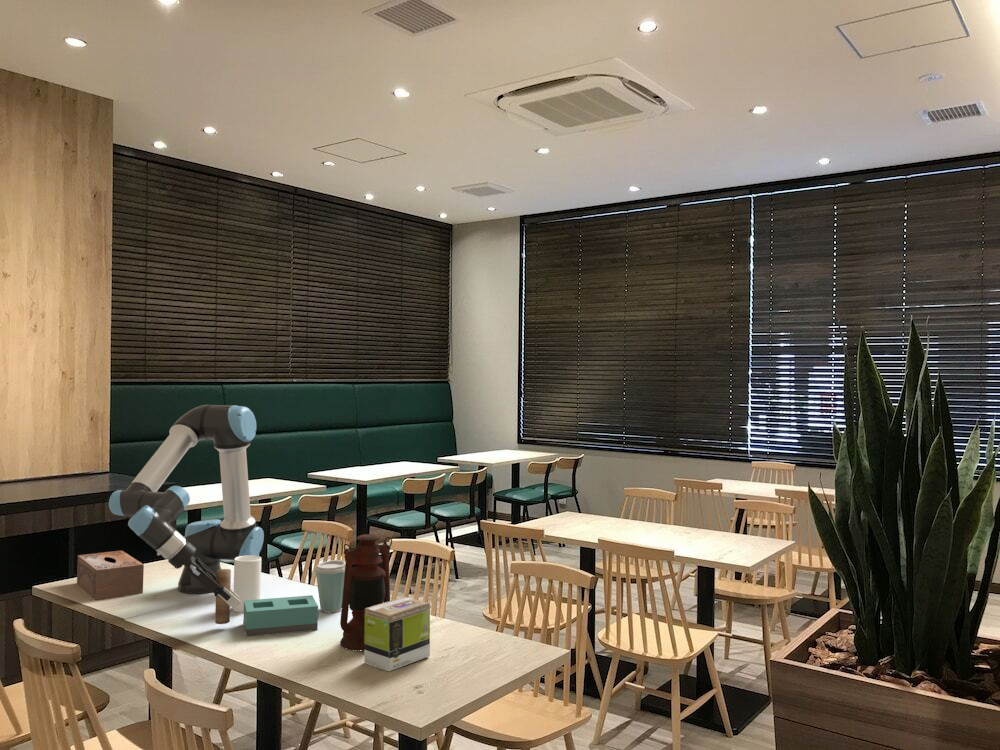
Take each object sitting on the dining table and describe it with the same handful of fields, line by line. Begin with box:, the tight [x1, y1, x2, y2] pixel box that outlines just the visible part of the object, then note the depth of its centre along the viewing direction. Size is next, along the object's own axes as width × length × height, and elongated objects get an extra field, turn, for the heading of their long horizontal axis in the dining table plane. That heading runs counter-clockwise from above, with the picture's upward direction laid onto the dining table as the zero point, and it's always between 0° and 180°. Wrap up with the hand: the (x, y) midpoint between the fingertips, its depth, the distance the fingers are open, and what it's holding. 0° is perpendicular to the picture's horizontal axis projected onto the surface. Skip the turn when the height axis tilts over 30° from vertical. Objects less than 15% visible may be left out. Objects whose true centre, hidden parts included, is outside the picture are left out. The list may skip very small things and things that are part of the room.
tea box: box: [363, 596, 431, 672], centre depth 207 cm, size 15×10×15 cm
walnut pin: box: [214, 568, 232, 625], centre depth 229 cm, size 4×4×15 cm
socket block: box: [242, 594, 319, 637], centre depth 232 cm, size 12×20×7 cm, turn 112°
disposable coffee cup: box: [314, 559, 346, 613], centre depth 250 cm, size 11×11×15 cm
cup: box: [232, 555, 262, 613], centre depth 249 cm, size 8×8×16 cm
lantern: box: [339, 533, 393, 652], centre depth 220 cm, size 17×14×30 cm
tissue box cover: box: [76, 550, 145, 601], centre depth 268 cm, size 26×14×10 cm, turn 41°
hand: (236, 602), depth 230 cm, fingers closed on walnut pin, 4 cm apart
